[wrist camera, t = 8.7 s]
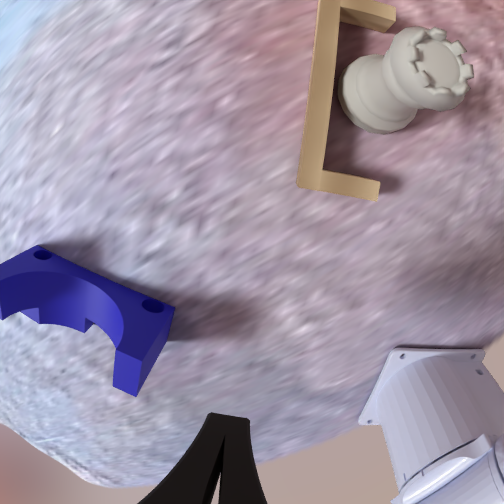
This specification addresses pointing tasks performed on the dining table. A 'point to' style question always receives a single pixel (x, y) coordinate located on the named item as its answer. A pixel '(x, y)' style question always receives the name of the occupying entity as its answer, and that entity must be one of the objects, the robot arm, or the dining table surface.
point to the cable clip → (88, 309)
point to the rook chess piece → (404, 80)
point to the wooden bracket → (320, 95)
